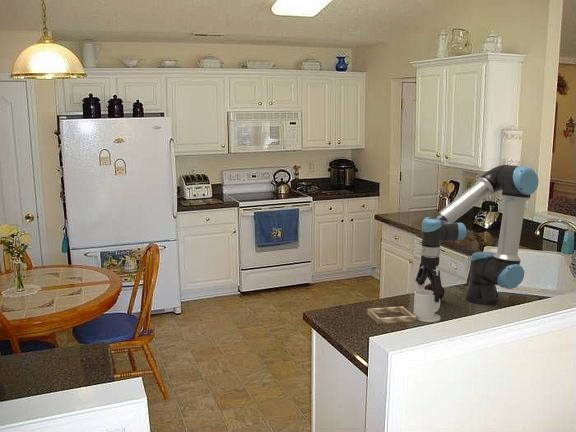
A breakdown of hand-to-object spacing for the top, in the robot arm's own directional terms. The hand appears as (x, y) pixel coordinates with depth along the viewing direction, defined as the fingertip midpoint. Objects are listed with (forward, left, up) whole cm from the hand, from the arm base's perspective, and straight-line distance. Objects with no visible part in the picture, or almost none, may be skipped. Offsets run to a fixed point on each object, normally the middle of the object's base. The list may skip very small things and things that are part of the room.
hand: (427, 304), depth 234 cm
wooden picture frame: (+15, -4, -6) cm, 17 cm away
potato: (-12, -19, -6) cm, 23 cm away
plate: (0, 0, -6) cm, 6 cm away
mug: (0, 0, -6) cm, 6 cm away
